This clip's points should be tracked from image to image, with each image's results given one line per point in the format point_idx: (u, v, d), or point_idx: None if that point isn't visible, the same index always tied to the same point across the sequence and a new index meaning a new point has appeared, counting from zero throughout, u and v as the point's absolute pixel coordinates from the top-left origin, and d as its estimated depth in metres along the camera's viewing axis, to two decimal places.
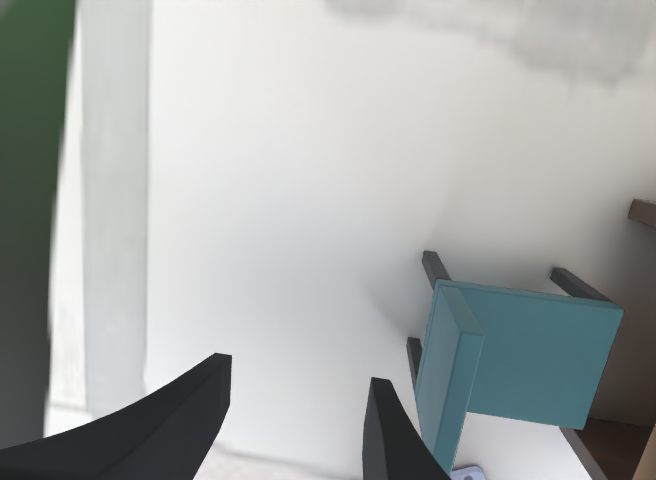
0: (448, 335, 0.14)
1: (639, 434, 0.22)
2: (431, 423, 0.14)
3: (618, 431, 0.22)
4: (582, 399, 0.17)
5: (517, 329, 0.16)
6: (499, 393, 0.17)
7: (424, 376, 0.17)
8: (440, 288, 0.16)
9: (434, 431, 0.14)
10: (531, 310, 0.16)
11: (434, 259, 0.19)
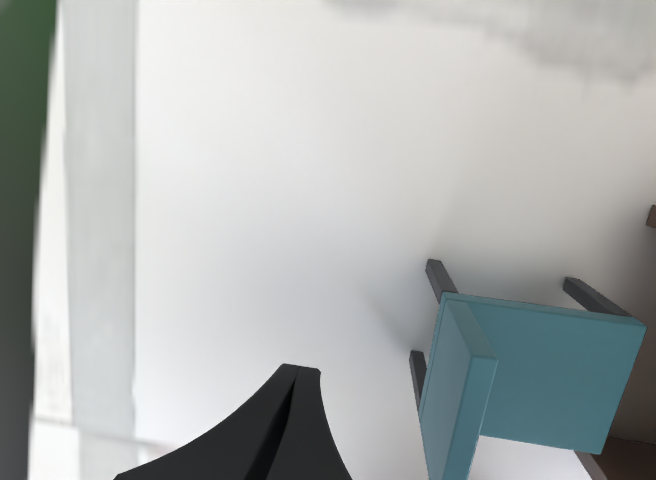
0: (457, 357, 0.12)
1: None
2: (437, 452, 0.13)
3: (634, 451, 0.21)
4: (601, 422, 0.16)
5: (530, 347, 0.15)
6: (510, 415, 0.16)
7: (429, 397, 0.15)
8: (446, 302, 0.15)
9: (441, 462, 0.13)
10: (545, 326, 0.15)
11: (439, 269, 0.18)
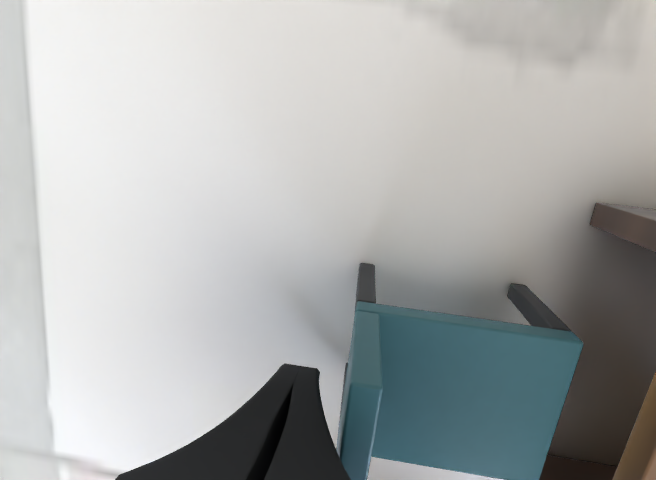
0: (348, 381, 0.11)
1: (606, 475, 0.19)
2: None
3: (582, 472, 0.19)
4: (536, 449, 0.14)
5: (453, 364, 0.13)
6: (435, 440, 0.14)
7: None
8: (355, 314, 0.13)
9: None
10: (469, 342, 0.13)
11: (367, 274, 0.16)
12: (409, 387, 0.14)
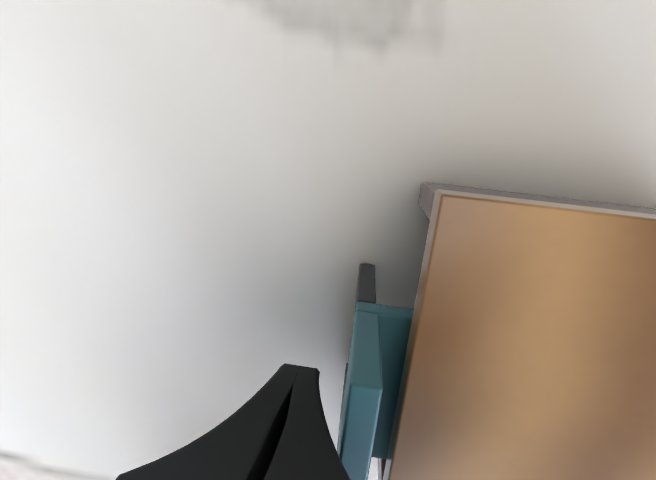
0: (348, 381, 0.11)
1: None
2: None
3: None
4: None
5: None
6: None
7: (341, 421, 0.14)
8: (355, 314, 0.13)
9: None
10: None
11: (367, 274, 0.16)
12: None
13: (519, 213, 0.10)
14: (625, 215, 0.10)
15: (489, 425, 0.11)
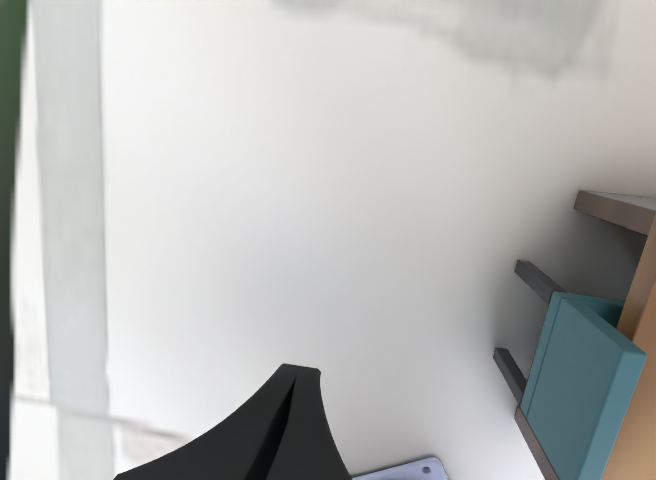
0: (593, 352, 0.13)
1: None
2: (567, 442, 0.14)
3: None
4: None
5: None
6: None
7: (542, 391, 0.16)
8: (563, 301, 0.16)
9: (576, 451, 0.14)
10: None
11: (535, 269, 0.19)
12: None
13: None
14: None
15: None
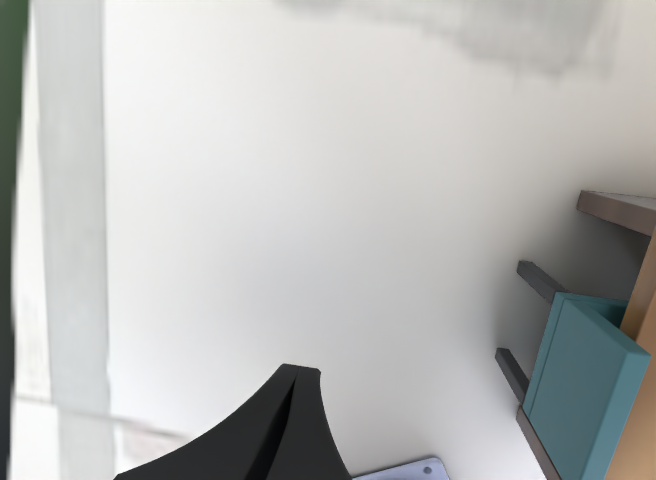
0: (596, 353, 0.13)
1: None
2: (570, 442, 0.14)
3: None
4: None
5: None
6: None
7: (544, 391, 0.16)
8: (566, 302, 0.16)
9: (579, 451, 0.14)
10: None
11: (537, 270, 0.19)
12: None
13: None
14: None
15: None
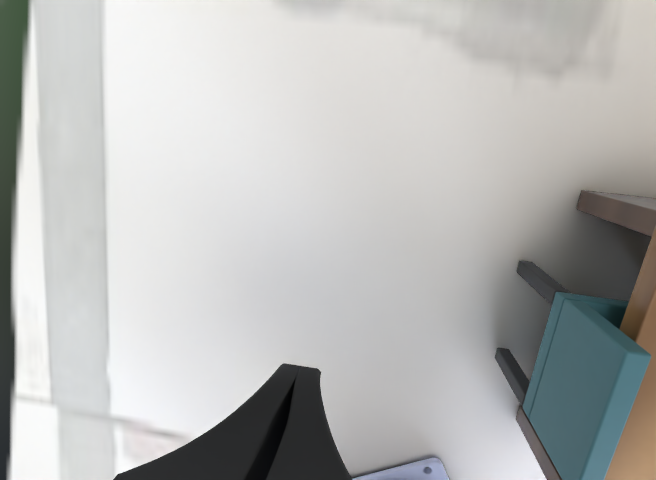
0: (596, 353, 0.13)
1: None
2: (570, 442, 0.14)
3: None
4: None
5: None
6: None
7: (544, 391, 0.16)
8: (566, 302, 0.16)
9: (579, 451, 0.14)
10: None
11: (537, 270, 0.19)
12: None
13: None
14: None
15: None
